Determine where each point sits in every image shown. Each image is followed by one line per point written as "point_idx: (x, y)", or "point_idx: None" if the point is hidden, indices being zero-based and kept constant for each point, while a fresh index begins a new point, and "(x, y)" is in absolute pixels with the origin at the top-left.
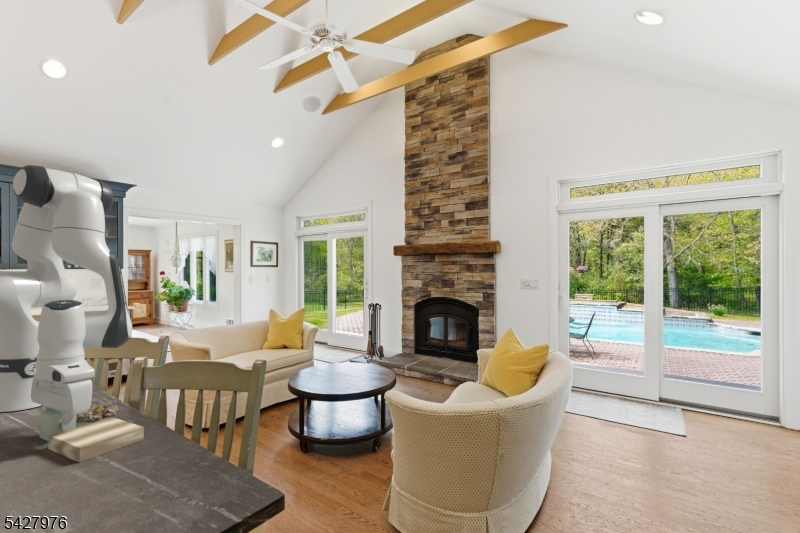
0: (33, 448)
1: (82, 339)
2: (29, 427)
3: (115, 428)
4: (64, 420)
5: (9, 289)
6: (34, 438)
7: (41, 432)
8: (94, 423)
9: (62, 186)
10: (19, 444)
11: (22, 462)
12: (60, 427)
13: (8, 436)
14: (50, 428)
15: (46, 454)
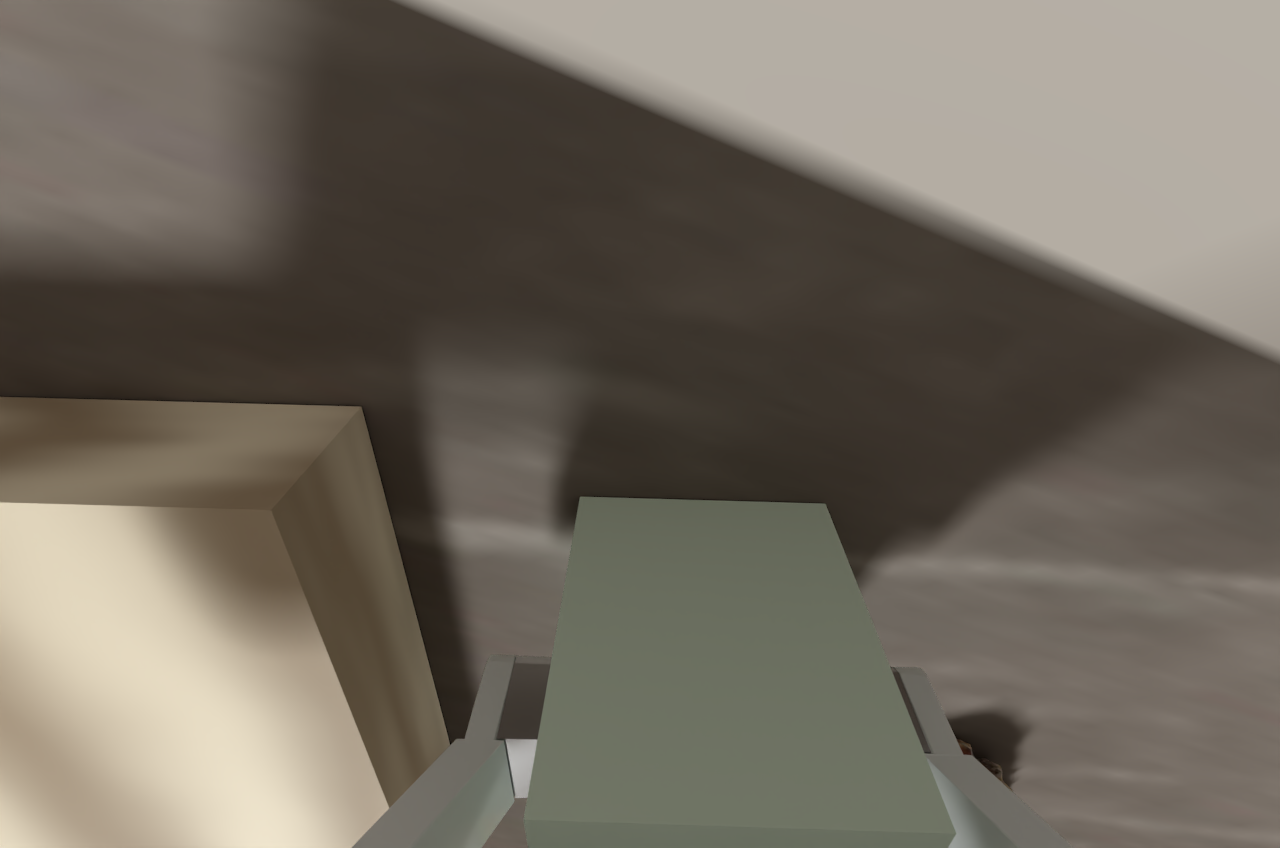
0: (526, 342)
1: None
2: (1251, 576)
3: (38, 819)
4: (421, 782)
5: None
6: (856, 472)
7: (802, 549)
8: (354, 814)
9: None
10: (827, 320)
11: (64, 56)
12: (537, 671)
13: (1258, 372)
14: (566, 617)
15: (188, 330)
